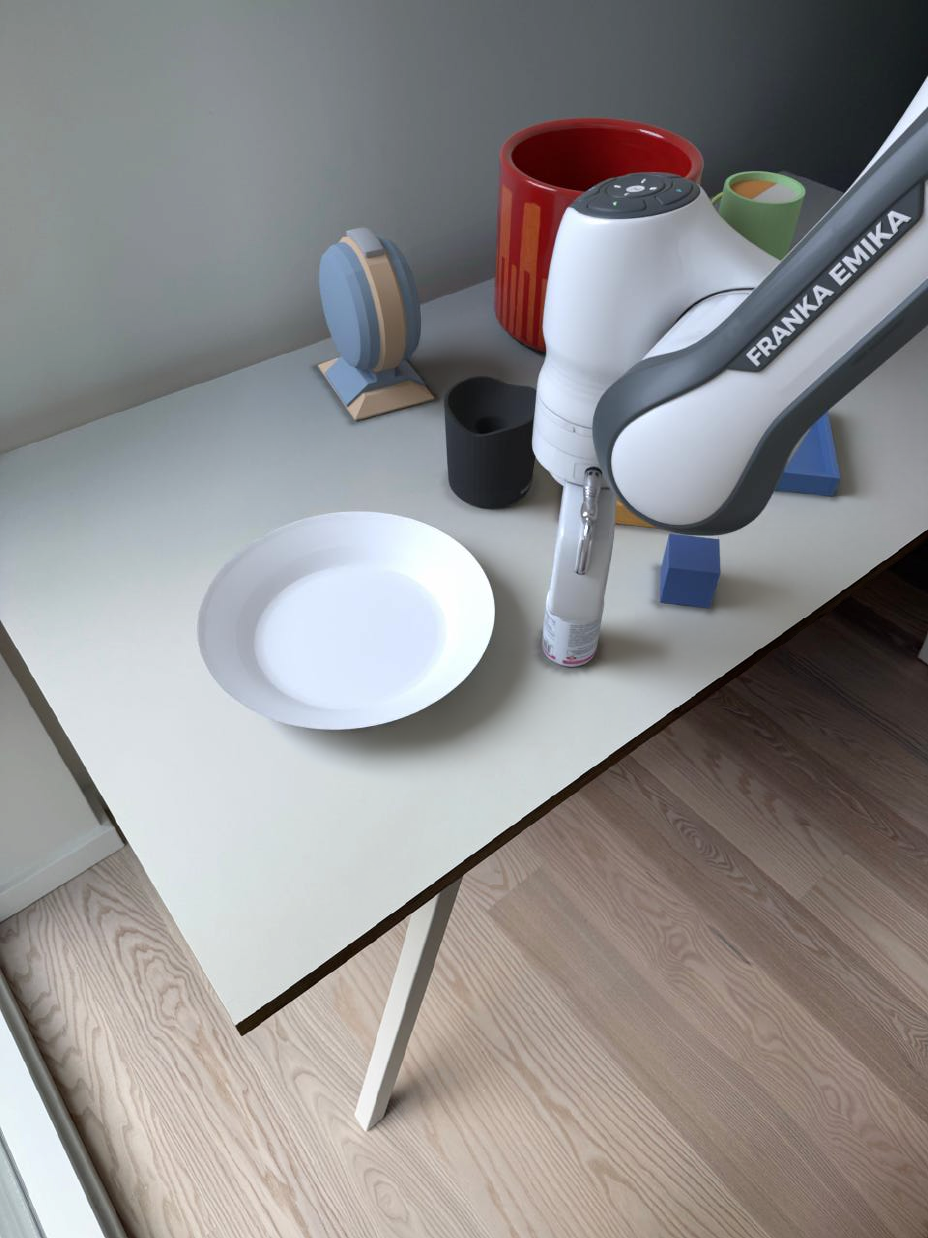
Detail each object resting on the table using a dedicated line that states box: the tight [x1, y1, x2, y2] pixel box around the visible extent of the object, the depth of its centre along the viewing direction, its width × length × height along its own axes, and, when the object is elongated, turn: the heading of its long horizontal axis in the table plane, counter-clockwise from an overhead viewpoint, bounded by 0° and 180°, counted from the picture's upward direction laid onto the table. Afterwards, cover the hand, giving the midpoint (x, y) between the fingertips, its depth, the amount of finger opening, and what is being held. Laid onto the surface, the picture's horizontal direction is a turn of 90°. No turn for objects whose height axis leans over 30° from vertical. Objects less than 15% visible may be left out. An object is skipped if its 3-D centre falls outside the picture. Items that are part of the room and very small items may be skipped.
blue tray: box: [775, 410, 841, 497], centre depth 96 cm, size 12×14×2 cm
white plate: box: [196, 510, 496, 731], centre depth 77 cm, size 25×25×4 cm
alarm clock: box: [317, 226, 436, 422], centre depth 98 cm, size 14×10×18 cm
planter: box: [493, 116, 705, 354], centre depth 108 cm, size 23×23×20 cm
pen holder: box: [443, 374, 537, 509], centre depth 89 cm, size 9×9×10 cm
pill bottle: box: [541, 589, 605, 667], centre depth 75 cm, size 5×5×8 cm
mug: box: [710, 170, 806, 261], centre depth 119 cm, size 13×10×12 cm
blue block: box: [659, 533, 722, 609], centre depth 81 cm, size 4×4×4 cm
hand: (575, 572), depth 71 cm, fingers open, 8 cm apart
